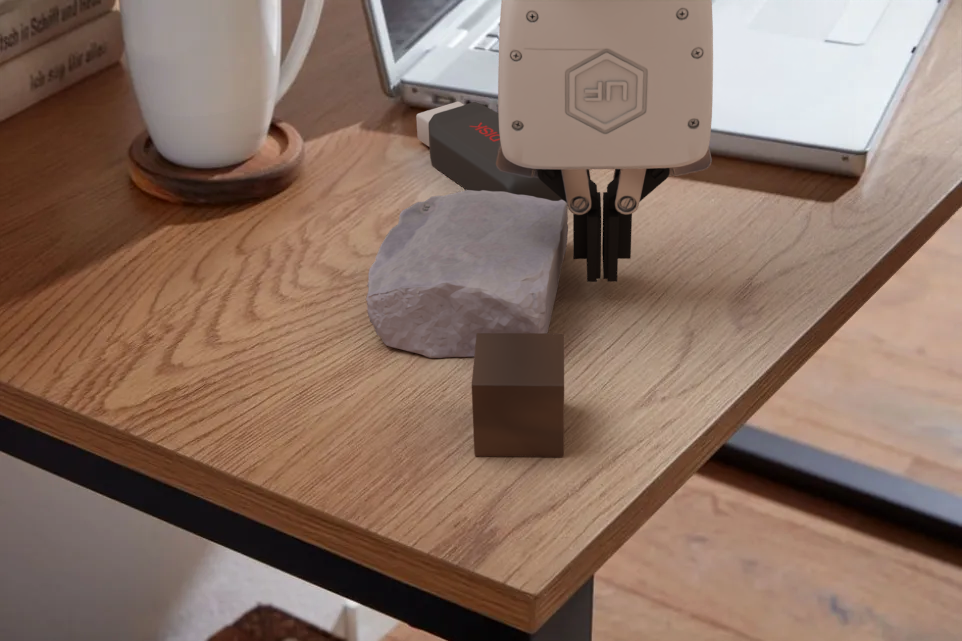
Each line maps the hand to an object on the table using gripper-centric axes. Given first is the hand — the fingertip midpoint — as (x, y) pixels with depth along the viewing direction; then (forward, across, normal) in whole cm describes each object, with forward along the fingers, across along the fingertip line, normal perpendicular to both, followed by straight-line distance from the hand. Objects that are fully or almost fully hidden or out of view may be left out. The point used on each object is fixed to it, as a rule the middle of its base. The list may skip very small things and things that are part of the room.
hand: (601, 267), depth 70 cm
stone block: (+1, -7, -1) cm, 7 cm away
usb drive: (+2, -6, +13) cm, 15 cm away
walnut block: (+1, -4, -12) cm, 13 cm away
